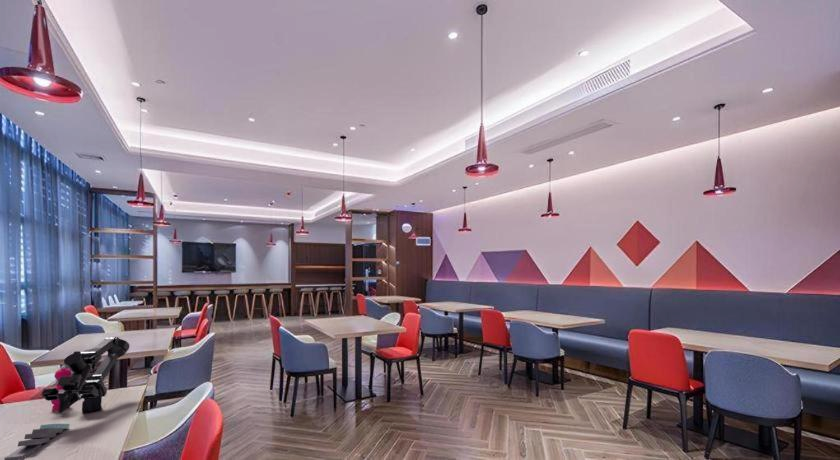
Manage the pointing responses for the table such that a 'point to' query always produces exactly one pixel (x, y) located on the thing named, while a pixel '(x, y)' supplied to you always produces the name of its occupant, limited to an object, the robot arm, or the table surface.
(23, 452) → the domino
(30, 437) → the domino
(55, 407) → the pepper mill
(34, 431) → the domino
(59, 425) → the domino
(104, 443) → the table surface
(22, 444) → the domino
